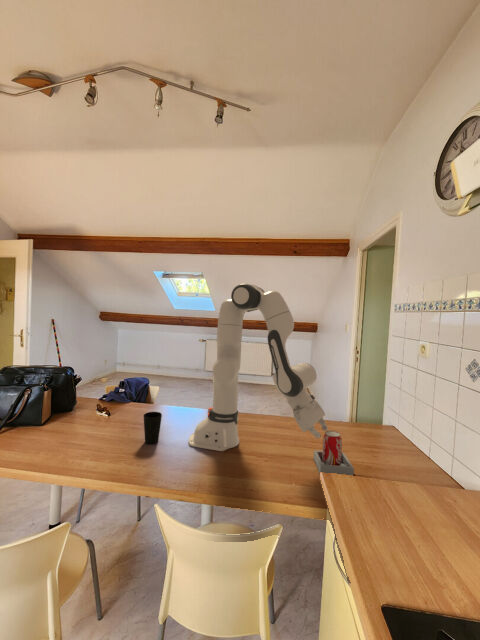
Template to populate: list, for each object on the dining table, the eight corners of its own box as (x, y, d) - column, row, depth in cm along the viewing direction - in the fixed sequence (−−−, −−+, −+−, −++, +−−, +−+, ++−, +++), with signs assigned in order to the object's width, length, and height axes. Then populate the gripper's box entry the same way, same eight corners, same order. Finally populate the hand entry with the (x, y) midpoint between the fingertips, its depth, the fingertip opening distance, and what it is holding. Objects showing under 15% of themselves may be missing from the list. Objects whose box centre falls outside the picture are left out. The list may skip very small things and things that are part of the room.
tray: (320, 475, 108) (320, 465, 108) (313, 458, 120) (313, 450, 120) (353, 477, 107) (353, 468, 107) (343, 460, 119) (343, 452, 119)
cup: (164, 442, 128) (165, 415, 128) (148, 447, 122) (149, 419, 122) (154, 436, 133) (155, 410, 133) (139, 441, 128) (140, 414, 127)
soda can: (333, 470, 110) (335, 438, 110) (318, 462, 115) (319, 432, 115) (344, 465, 114) (345, 434, 114) (329, 458, 119) (330, 428, 120)
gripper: (297, 405, 110) (321, 438, 105) (314, 394, 127) (335, 422, 122) (285, 414, 113) (308, 446, 108) (304, 402, 130) (324, 429, 125)
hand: (323, 433), depth 115 cm, fingers open, 8 cm apart
